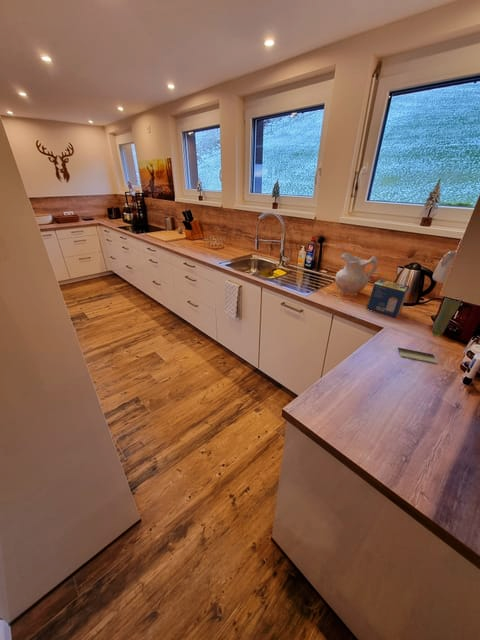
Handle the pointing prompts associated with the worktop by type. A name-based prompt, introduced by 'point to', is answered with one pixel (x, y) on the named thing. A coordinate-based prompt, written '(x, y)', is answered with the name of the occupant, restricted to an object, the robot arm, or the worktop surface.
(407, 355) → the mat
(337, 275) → the ceramic pitcher
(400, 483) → the worktop surface
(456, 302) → the vegetable
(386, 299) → the protein box
